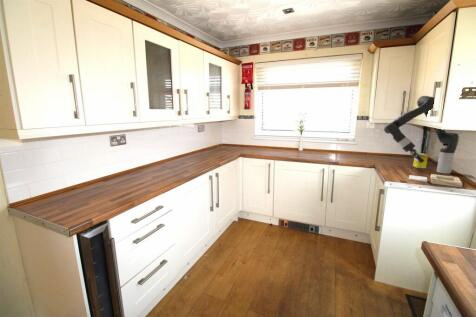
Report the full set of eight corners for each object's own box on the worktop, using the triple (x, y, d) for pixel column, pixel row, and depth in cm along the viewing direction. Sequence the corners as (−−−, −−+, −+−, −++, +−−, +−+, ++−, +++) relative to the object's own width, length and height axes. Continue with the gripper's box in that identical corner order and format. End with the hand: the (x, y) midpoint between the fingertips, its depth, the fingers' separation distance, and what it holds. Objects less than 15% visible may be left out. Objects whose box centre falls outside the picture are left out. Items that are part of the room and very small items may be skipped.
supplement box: (425, 169, 174) (428, 154, 172) (416, 168, 175) (419, 154, 173) (421, 167, 180) (423, 153, 178) (412, 167, 181) (414, 153, 179)
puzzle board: (430, 177, 185) (430, 174, 184) (457, 180, 175) (458, 177, 175) (431, 183, 169) (432, 179, 168) (461, 187, 160) (462, 183, 159)
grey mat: (409, 176, 187) (409, 175, 187) (426, 178, 181) (426, 177, 180) (408, 179, 178) (408, 178, 177) (427, 182, 171) (427, 181, 171)
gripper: (410, 142, 172) (428, 159, 168) (411, 140, 184) (427, 156, 179) (400, 148, 176) (417, 165, 172) (401, 146, 188) (417, 162, 183)
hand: (422, 161), depth 176 cm, fingers closed on supplement box, 8 cm apart
